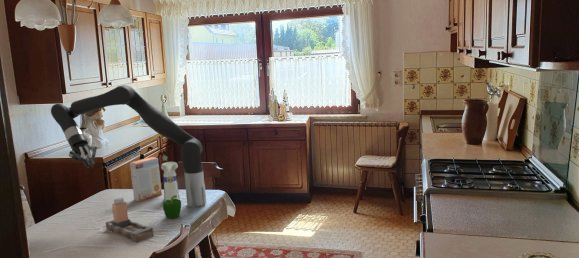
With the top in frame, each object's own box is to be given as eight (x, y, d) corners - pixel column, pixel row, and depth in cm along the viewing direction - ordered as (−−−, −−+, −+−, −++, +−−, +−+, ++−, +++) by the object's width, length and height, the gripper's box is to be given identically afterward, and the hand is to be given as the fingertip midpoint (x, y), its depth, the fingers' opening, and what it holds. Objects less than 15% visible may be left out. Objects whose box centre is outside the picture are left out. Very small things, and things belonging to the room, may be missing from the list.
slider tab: (112, 225, 196) (109, 200, 194) (124, 221, 200) (121, 196, 198) (118, 228, 193) (115, 202, 191) (130, 223, 197) (127, 198, 195)
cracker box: (155, 193, 249) (152, 156, 246) (162, 194, 245) (158, 157, 242) (133, 199, 238) (129, 161, 235) (139, 201, 235) (135, 163, 231)
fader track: (106, 229, 197) (105, 222, 197) (123, 224, 204) (122, 216, 203) (136, 242, 182) (135, 234, 182) (153, 235, 188) (152, 227, 188)
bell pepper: (165, 221, 205) (163, 200, 203) (163, 215, 212) (161, 195, 211) (183, 218, 208) (181, 197, 206) (180, 212, 215) (179, 192, 214)
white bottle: (181, 200, 234) (177, 153, 230) (164, 202, 232) (159, 155, 228) (180, 195, 242) (176, 150, 238) (163, 197, 240) (159, 152, 236)
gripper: (62, 135, 205) (78, 164, 199) (91, 130, 215) (107, 158, 209) (59, 145, 209) (74, 174, 203) (87, 140, 219) (103, 168, 214)
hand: (91, 166), depth 206 cm, fingers closed
